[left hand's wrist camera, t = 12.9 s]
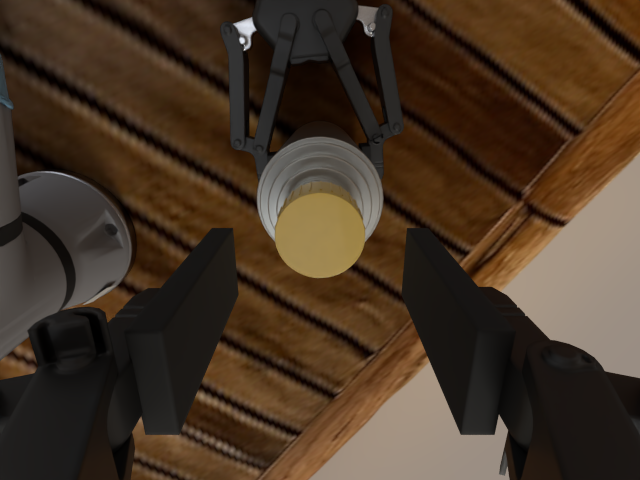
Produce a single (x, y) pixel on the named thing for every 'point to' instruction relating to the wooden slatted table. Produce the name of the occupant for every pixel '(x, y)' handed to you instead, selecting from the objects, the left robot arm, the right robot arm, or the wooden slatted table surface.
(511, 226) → the wooden slatted table surface
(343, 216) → the cap
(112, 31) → the wooden slatted table surface
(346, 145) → the bottle
